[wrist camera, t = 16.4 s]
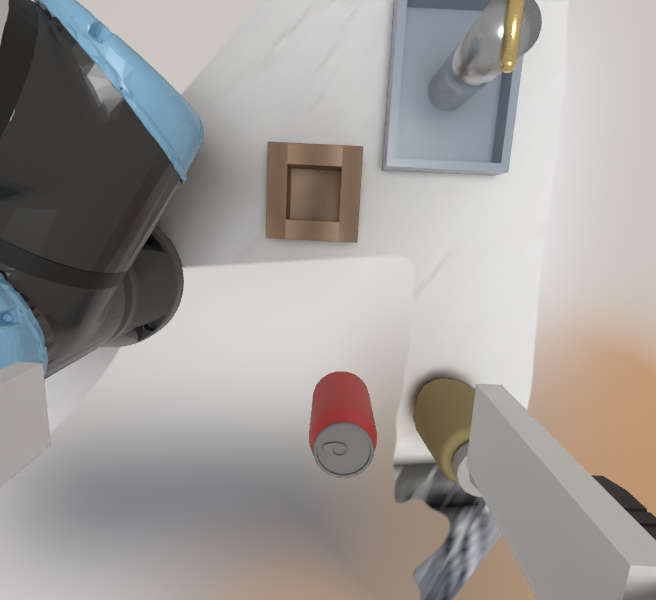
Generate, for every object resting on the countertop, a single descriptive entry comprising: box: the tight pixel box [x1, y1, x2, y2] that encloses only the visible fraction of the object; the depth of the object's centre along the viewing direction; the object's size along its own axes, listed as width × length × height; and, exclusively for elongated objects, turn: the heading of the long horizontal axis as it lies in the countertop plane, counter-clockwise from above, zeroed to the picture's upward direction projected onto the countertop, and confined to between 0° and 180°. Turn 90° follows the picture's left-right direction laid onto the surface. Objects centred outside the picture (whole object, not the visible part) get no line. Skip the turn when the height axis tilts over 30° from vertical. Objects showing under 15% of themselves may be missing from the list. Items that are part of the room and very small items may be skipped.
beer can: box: [309, 372, 377, 478], centre depth 44 cm, size 7×7×12 cm
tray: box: [382, 0, 523, 175], centre depth 41 cm, size 12×16×4 cm
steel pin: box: [428, 0, 542, 111], centre depth 34 cm, size 4×6×16 cm, turn 177°
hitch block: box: [266, 142, 363, 242], centre depth 43 cm, size 9×9×5 cm
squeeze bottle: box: [413, 378, 482, 497], centre depth 41 cm, size 8×8×18 cm
